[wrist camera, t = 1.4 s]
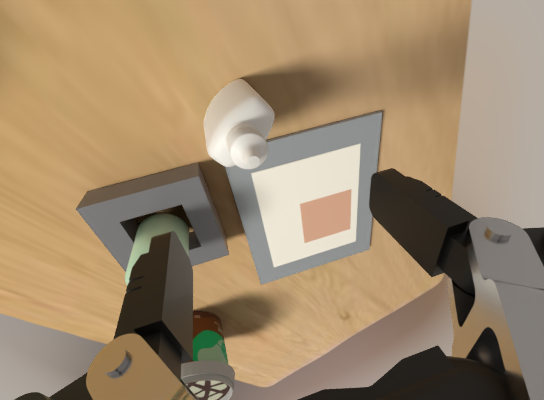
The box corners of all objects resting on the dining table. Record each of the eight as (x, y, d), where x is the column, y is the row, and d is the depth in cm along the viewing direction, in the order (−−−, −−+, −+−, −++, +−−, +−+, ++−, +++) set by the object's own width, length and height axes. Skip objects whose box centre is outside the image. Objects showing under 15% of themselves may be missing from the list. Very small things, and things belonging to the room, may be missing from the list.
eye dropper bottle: (263, 119, 25) (307, 175, 16) (211, 139, 25) (222, 208, 16) (249, 73, 23) (291, 106, 13) (190, 95, 23) (189, 145, 13)
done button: (128, 221, 25) (112, 268, 20) (178, 207, 25) (175, 249, 21) (150, 255, 28) (141, 303, 23) (195, 242, 28) (196, 286, 24)
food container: (238, 333, 45) (247, 398, 37) (205, 346, 45) (207, 415, 37) (212, 295, 38) (217, 366, 30) (172, 310, 38) (167, 386, 30)
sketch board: (220, 151, 26) (221, 154, 26) (379, 110, 28) (383, 112, 28) (260, 281, 39) (261, 285, 38) (367, 246, 41) (369, 249, 41)
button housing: (87, 191, 25) (75, 209, 22) (198, 162, 26) (198, 176, 24) (139, 264, 31) (134, 283, 29) (226, 238, 33) (229, 254, 30)
